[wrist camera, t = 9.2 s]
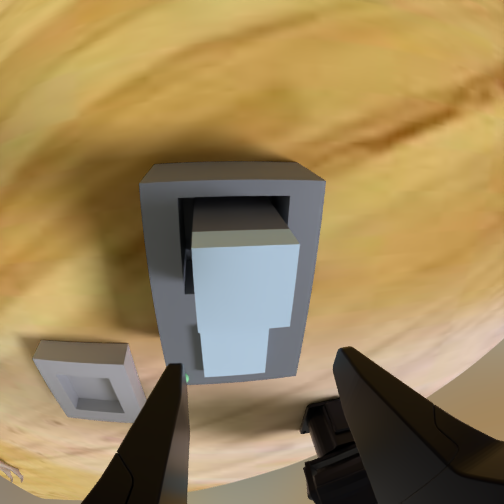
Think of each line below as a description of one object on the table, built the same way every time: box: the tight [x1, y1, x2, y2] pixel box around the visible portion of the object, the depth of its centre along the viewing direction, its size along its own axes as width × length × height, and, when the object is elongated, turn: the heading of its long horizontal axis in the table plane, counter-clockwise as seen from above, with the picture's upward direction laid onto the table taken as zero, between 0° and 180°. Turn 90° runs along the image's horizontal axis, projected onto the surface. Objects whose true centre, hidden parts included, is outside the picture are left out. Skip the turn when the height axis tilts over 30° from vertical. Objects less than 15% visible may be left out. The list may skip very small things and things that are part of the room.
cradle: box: [32, 340, 147, 423], centre depth 24 cm, size 9×9×2 cm
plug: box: [191, 196, 300, 333], centre depth 16 cm, size 4×4×8 cm
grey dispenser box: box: [139, 161, 326, 385], centre depth 19 cm, size 14×9×6 cm, turn 178°
